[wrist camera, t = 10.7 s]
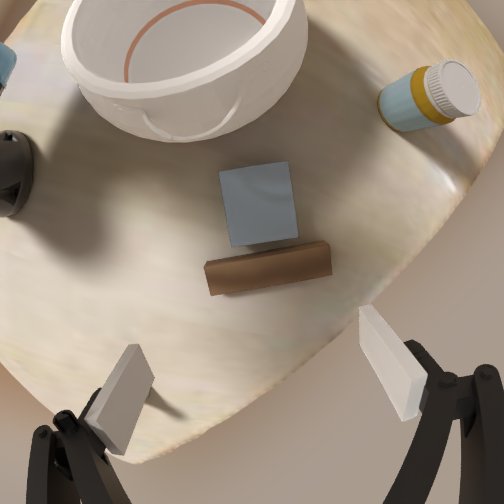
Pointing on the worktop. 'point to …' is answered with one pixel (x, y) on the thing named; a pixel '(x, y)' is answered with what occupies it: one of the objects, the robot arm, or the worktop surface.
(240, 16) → the pot
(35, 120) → the worktop surface
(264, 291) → the worktop surface
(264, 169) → the slab
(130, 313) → the worktop surface
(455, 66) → the bottle
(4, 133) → the robot arm
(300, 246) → the block
